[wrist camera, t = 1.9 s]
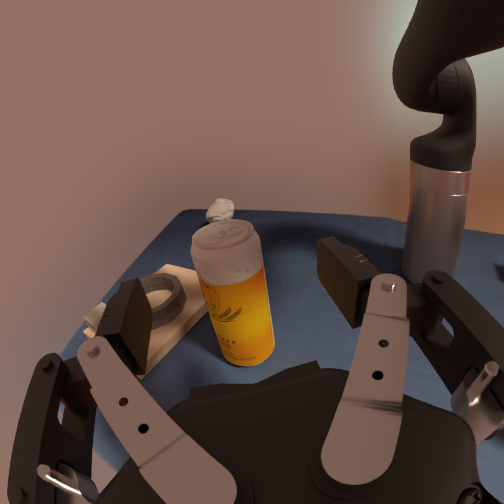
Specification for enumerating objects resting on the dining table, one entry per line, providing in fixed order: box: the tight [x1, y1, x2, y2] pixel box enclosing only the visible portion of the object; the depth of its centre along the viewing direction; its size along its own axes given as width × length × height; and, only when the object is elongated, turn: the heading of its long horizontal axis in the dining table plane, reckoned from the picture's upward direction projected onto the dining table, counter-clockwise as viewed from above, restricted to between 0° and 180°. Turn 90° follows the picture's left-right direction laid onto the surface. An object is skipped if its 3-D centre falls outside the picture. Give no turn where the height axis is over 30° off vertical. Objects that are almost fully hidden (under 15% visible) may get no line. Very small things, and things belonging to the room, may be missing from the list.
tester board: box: [83, 264, 208, 380], centre depth 37 cm, size 20×14×4 cm
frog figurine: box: [206, 198, 234, 224], centre depth 60 cm, size 6×7×7 cm
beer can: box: [191, 220, 275, 367], centre depth 27 cm, size 6×6×15 cm
